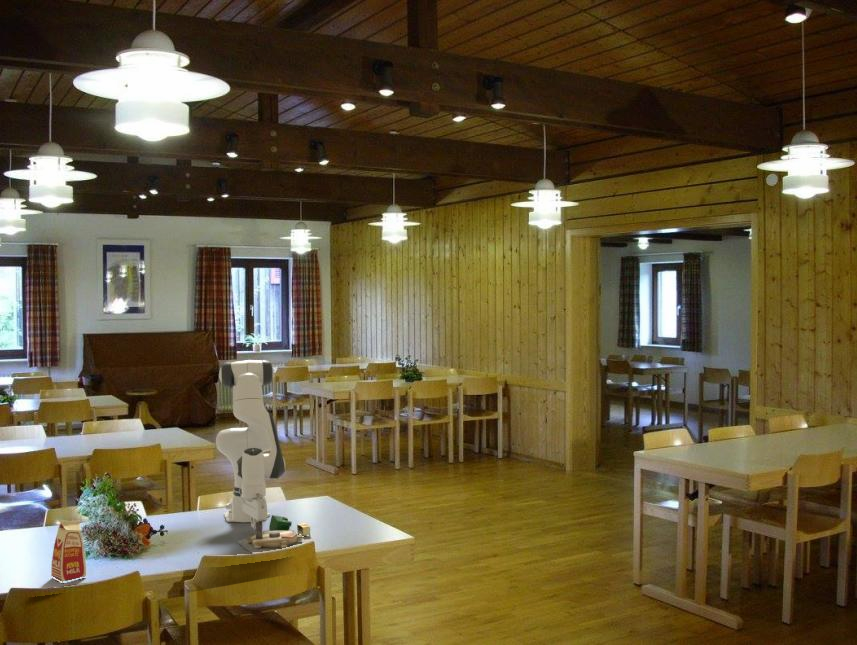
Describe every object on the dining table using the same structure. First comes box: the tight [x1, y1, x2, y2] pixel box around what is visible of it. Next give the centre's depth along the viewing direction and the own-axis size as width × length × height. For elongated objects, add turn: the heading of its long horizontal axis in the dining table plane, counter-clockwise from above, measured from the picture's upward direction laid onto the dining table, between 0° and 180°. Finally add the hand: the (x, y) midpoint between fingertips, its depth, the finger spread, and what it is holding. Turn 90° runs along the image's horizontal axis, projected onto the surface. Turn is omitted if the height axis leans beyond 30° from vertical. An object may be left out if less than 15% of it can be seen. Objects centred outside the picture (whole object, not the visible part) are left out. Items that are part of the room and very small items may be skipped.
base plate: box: [236, 537, 308, 553], centre depth 321 cm, size 22×22×1 cm
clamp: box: [268, 515, 292, 531], centre depth 341 cm, size 12×6×9 cm, turn 17°
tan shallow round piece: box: [246, 521, 303, 548], centre depth 321 cm, size 20×19×8 cm
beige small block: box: [296, 522, 311, 536], centre depth 335 cm, size 6×3×4 cm, turn 30°
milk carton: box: [50, 519, 87, 582], centre depth 284 cm, size 9×9×20 cm
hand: (254, 528), depth 324 cm, fingers closed
